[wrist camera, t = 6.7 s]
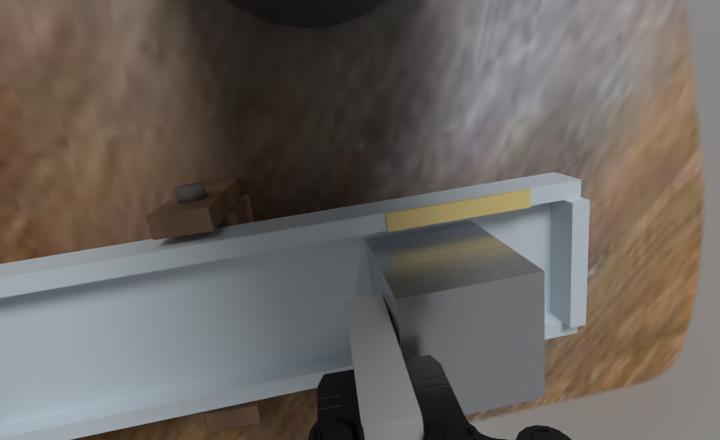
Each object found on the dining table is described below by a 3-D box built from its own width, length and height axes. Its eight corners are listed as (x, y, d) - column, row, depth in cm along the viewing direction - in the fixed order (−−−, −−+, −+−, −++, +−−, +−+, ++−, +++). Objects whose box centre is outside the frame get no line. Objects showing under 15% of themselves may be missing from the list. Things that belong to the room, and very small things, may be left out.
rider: (377, 335, 20) (410, 427, 15) (364, 239, 19) (395, 299, 13) (476, 315, 21) (544, 397, 15) (470, 220, 19) (544, 271, 14)
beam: (-141, 454, 19) (-326, 606, 13) (-234, 302, 17) (-505, 407, 11) (553, 313, 23) (640, 385, 17) (554, 172, 20) (655, 200, 15)
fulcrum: (230, 361, 26) (203, 444, 20) (182, 174, 22) (131, 203, 16) (282, 353, 26) (271, 431, 20) (242, 165, 23) (214, 191, 16)
